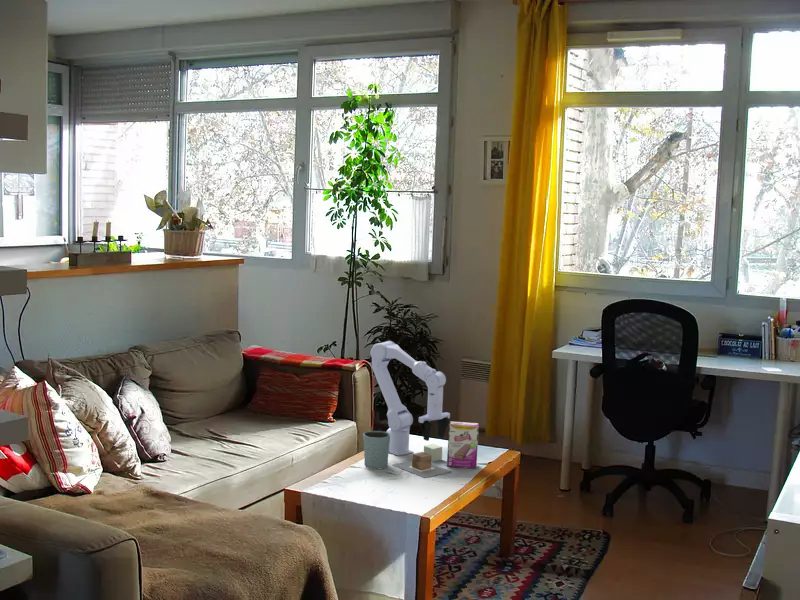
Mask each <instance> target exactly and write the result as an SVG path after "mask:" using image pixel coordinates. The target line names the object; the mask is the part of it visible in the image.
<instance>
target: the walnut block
mask: <svg viewBox="0 0 800 600" xmlns="http://www.w3.org/2000/svg"><path fill="white" fill-rule="evenodd" d="M411 454H412V455H411V457H412V458H411V459H412V460H411V461H412V467H413V468H416V469H418V470H425V469H430V468H431V464H432V461H431V458H432V455H430V454H427V453H425V452H424V451H420V452H413V453H411Z"/></svg>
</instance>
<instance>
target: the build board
mask: <svg viewBox="0 0 800 600" xmlns="http://www.w3.org/2000/svg"><path fill="white" fill-rule="evenodd" d="M393 465H394V466H393ZM392 466H393V467H395V466H396V468H398V467H399V468H398V469H400V468H401V470H403V471H405V470H406V471H405V472H408V473H410V472H411V473H410V474H413V475H415V474H416V476H418V477H420V476H421V478H423V479H426V478H432V477H435V476H439V474H440V475H444V474H448V473H451V472H452V471H451V470H449V469H446V468H443V467H441V466H438V465H435V464H433V463H431V468H430V469H425V470H418V469H416V468H413V467H412V460H408V461H403V462H399V463H393V464H392ZM447 472H448V473H447ZM443 473H444V474H443Z"/></svg>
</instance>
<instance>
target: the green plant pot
mask: <svg viewBox="0 0 800 600" xmlns="http://www.w3.org/2000/svg"><path fill="white" fill-rule="evenodd" d="M362 439H363V440H362V441H363V451H364V453H363V455H364V457H363V458H364V466H366V468H367V467H368V468H367V469H371V468H373V469H372V470H379V469H378V468H383V469H386V468H387V467H388V465H389V453H390V452H389V443H390V434H389V433H388V432H387V431H385V430H384V431H382V430H369V431H365V432H363V434H362ZM385 467H386V468H385ZM374 468H375V469H374Z"/></svg>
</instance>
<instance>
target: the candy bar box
mask: <svg viewBox="0 0 800 600" xmlns="http://www.w3.org/2000/svg"><path fill="white" fill-rule="evenodd" d="M479 425H480V424H479V423H477V422H464V421H462V422H461V421H451V420H450V423H449V424H448V438H447V439H448V442H447V454H446V456H447V457H446V467H449V466H455V467H454V468H462V467H467V468H466V469H477V463H478V461H477V460H478V449H479V448H478V447H479V446H478V445H479V444H478V443H479V429H480V428H479V427H480V426H479Z"/></svg>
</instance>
